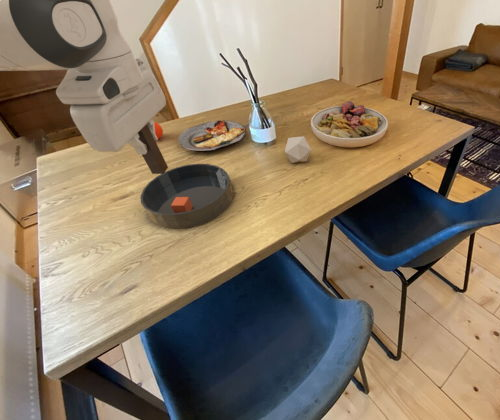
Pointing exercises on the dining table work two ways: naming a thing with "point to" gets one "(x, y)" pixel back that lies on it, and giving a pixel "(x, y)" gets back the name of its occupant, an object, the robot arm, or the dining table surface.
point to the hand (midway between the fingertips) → (148, 147)
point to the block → (181, 204)
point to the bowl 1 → (188, 195)
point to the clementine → (158, 130)
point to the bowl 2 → (349, 125)
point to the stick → (152, 152)
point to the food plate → (212, 135)
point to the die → (297, 149)
